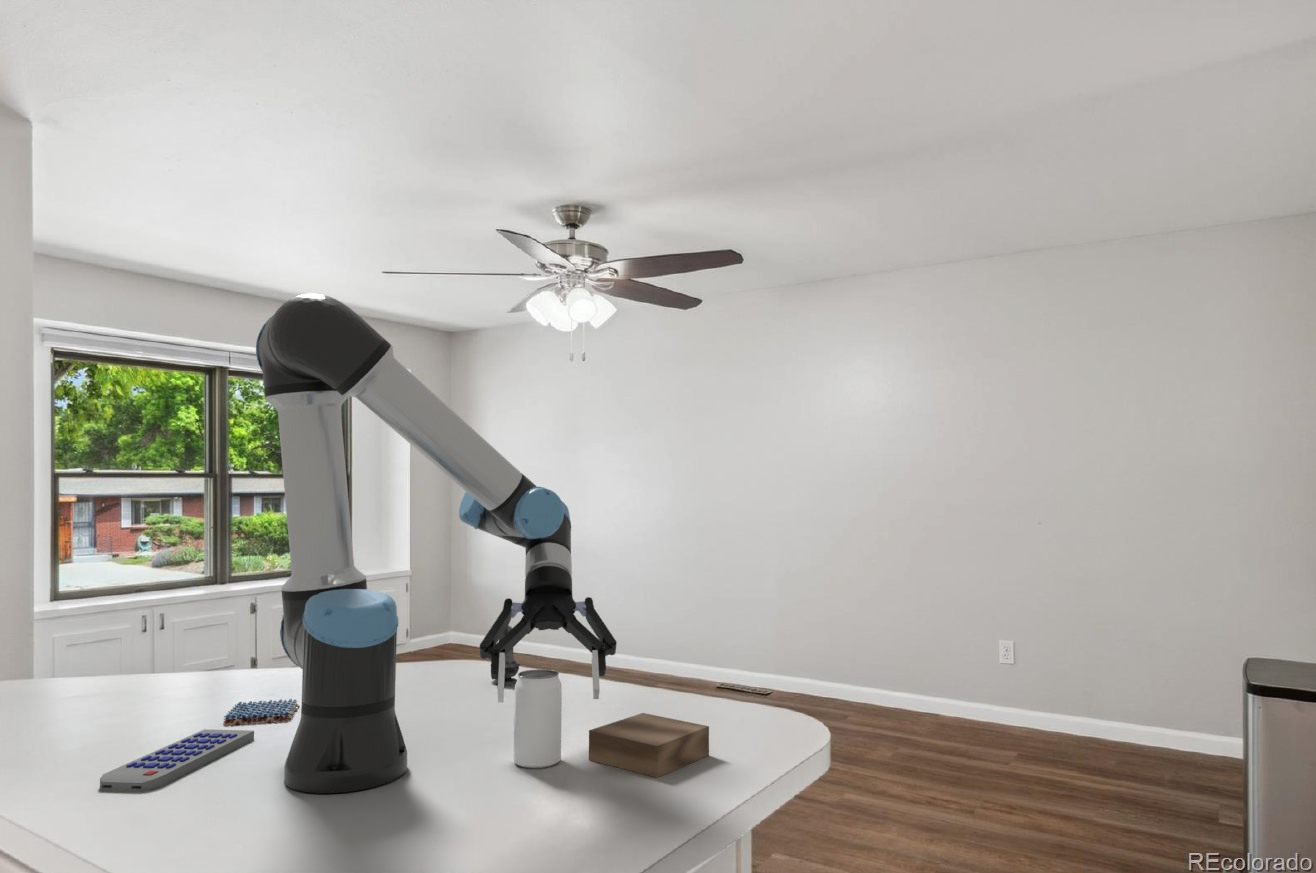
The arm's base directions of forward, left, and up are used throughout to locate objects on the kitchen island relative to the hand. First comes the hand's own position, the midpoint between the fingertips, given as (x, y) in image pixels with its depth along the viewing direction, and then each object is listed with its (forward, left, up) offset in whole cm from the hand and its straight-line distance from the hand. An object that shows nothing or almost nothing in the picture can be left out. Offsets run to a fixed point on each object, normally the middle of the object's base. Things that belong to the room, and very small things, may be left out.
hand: (548, 696), depth 119 cm
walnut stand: (+8, -12, -8) cm, 17 cm away
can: (-3, -1, -8) cm, 9 cm away
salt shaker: (+28, +40, -8) cm, 49 cm away
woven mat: (-14, +53, -9) cm, 55 cm away
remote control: (-33, +38, -9) cm, 51 cm away
